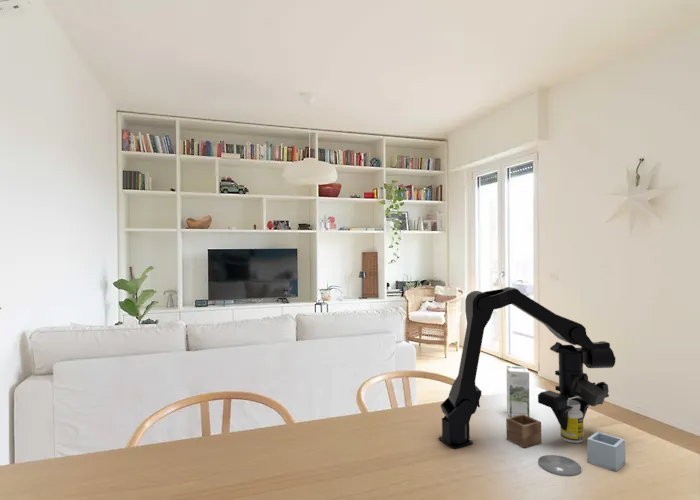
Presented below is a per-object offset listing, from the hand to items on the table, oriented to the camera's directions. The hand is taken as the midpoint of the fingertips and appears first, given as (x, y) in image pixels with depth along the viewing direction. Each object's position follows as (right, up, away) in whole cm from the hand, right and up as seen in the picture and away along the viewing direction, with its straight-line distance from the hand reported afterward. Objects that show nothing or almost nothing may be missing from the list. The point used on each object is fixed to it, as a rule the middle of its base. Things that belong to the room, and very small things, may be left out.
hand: (571, 427), depth 114 cm
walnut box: (-13, -3, -1) cm, 13 cm away
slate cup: (+2, -3, -13) cm, 13 cm away
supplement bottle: (0, -3, 0) cm, 3 cm away
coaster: (-10, -3, -14) cm, 17 cm away
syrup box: (-8, -3, +16) cm, 18 cm away
